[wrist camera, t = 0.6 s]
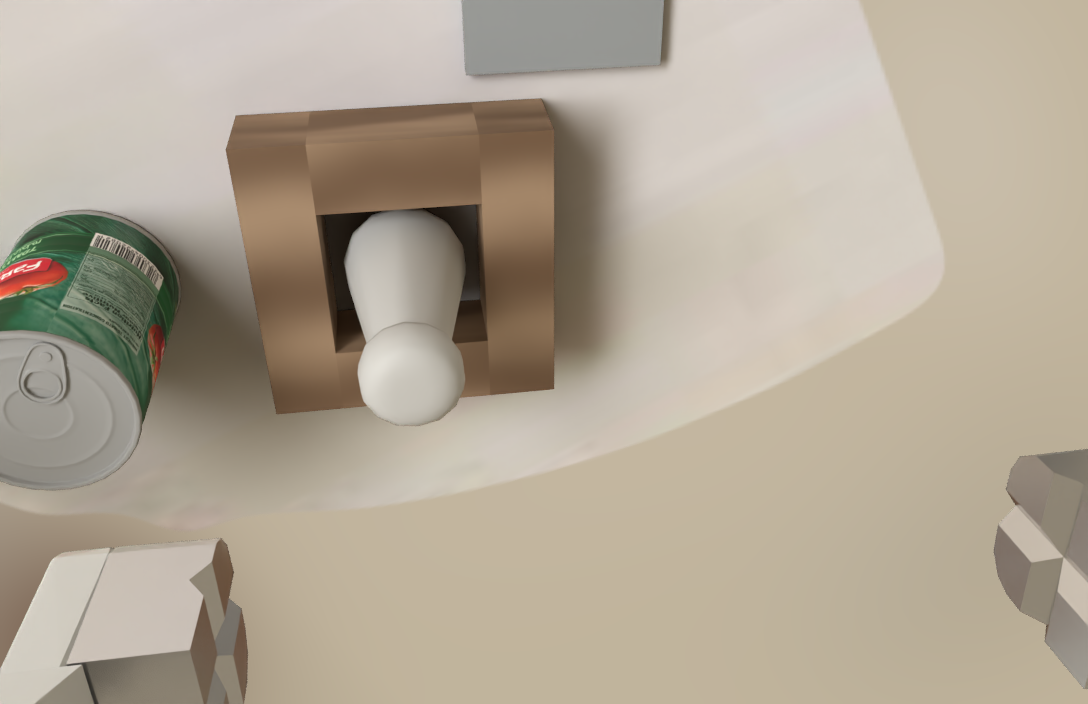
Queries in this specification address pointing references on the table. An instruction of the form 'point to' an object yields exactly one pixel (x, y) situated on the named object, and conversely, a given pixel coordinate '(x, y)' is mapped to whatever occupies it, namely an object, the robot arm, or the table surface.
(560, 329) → the table surface
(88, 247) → the canned tomato
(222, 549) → the robot arm
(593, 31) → the coaster
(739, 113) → the table surface
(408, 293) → the salt shaker
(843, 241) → the table surface
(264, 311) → the socket block
